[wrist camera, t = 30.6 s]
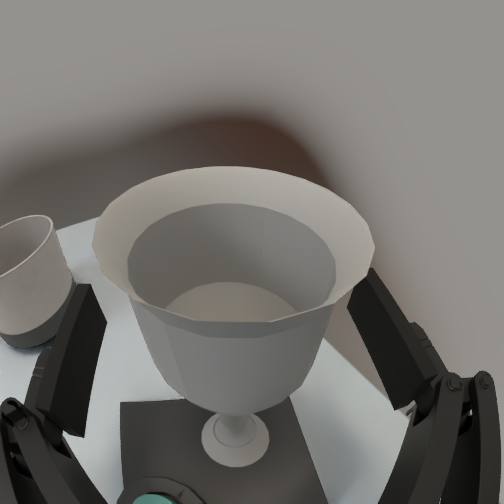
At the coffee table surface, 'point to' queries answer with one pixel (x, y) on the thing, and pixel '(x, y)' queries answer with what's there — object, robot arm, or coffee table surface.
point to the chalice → (233, 287)
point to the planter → (32, 281)
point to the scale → (203, 466)
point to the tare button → (153, 499)
